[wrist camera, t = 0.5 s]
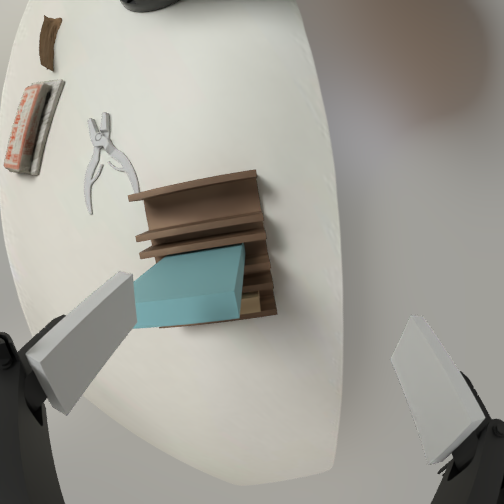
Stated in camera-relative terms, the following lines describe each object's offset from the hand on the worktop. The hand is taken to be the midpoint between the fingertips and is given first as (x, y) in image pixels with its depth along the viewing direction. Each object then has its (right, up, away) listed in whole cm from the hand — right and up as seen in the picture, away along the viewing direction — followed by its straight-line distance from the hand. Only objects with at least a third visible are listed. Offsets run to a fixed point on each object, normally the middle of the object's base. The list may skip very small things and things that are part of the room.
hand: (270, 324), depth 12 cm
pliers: (-23, +17, +24) cm, 38 cm away
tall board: (-7, +3, +26) cm, 27 cm away
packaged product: (-41, +27, +22) cm, 54 cm away
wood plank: (-40, +44, +18) cm, 62 cm away
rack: (-7, +3, +27) cm, 28 cm away
